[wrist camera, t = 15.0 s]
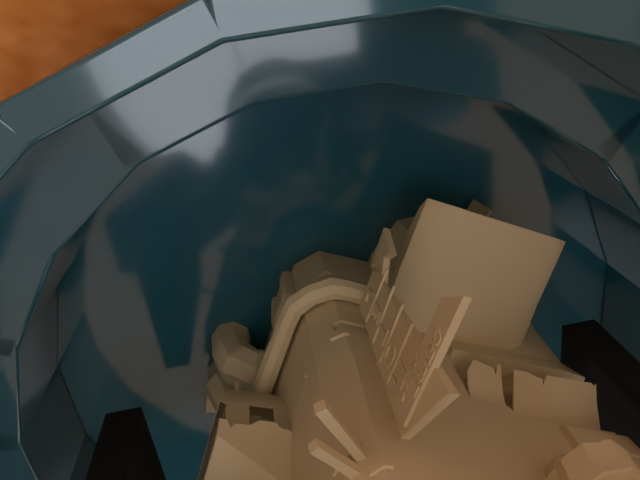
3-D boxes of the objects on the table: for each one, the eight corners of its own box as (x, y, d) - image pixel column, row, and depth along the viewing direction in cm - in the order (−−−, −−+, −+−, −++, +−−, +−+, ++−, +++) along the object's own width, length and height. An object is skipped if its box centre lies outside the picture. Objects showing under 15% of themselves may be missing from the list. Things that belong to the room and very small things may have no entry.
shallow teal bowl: (697, -85, 13) (1045, -138, 7) (625, 502, 20) (767, 692, 15) (-157, 45, 12) (-512, 99, 6) (106, 611, 19) (53, 860, 14)
